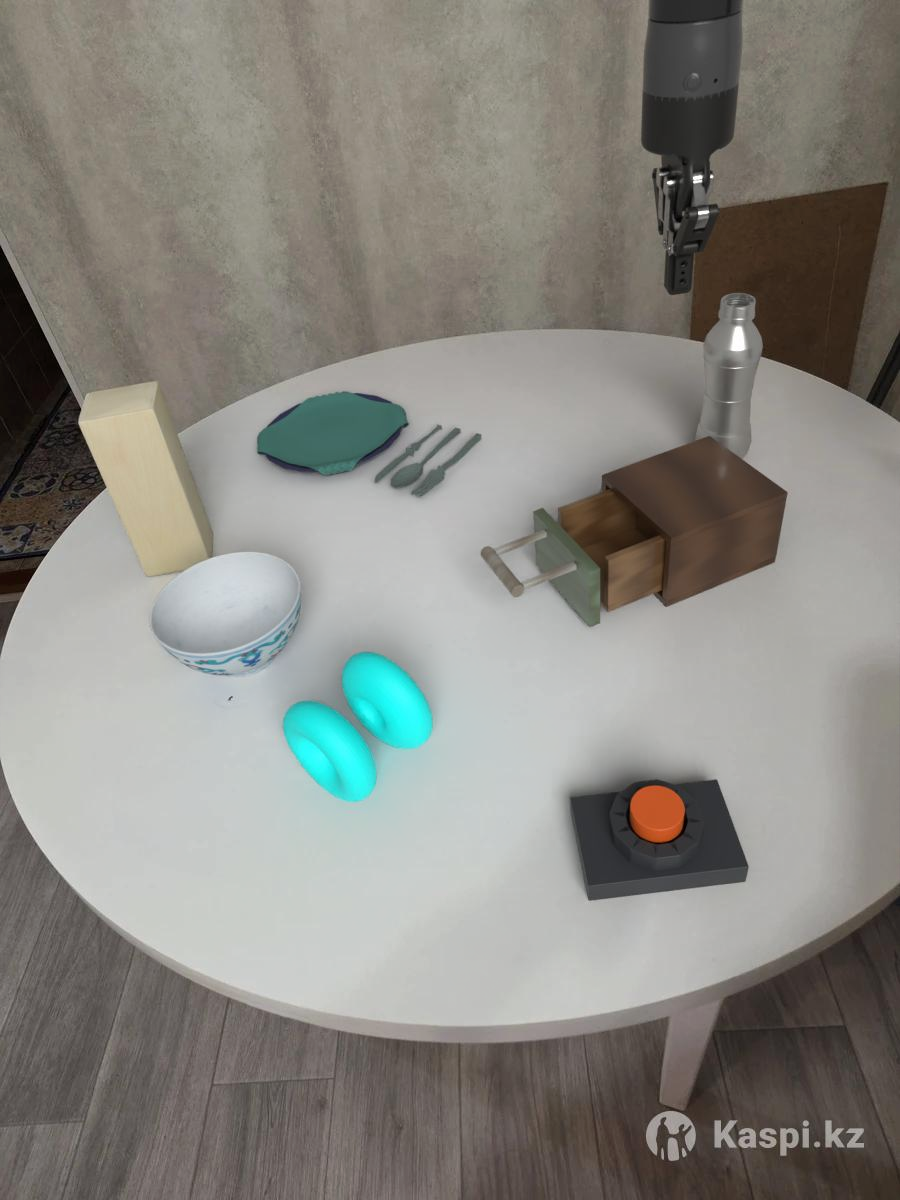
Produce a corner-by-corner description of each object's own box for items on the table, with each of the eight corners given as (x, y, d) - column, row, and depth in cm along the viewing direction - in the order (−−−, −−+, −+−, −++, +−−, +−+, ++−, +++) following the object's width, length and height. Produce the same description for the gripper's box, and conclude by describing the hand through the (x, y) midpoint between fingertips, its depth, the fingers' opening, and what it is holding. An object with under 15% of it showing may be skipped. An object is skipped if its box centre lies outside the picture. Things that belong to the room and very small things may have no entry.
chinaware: (346, 645, 90) (330, 589, 85) (227, 733, 83) (202, 678, 77) (262, 586, 98) (243, 533, 93) (148, 662, 91) (121, 608, 86)
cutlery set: (327, 393, 131) (324, 379, 129) (494, 438, 116) (492, 423, 114) (234, 460, 119) (229, 446, 118) (405, 518, 105) (402, 503, 103)
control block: (714, 794, 72) (719, 765, 69) (745, 882, 66) (752, 853, 63) (570, 812, 72) (569, 784, 69) (588, 901, 66) (588, 874, 63)
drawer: (526, 653, 85) (521, 599, 80) (476, 587, 93) (469, 534, 88) (695, 584, 89) (701, 528, 84) (634, 526, 97) (636, 472, 92)
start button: (675, 795, 68) (676, 782, 67) (689, 839, 65) (691, 826, 64) (624, 801, 68) (625, 788, 67) (636, 846, 65) (636, 833, 64)
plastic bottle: (716, 477, 104) (733, 319, 90) (682, 452, 109) (694, 297, 95) (760, 461, 105) (784, 302, 92) (725, 436, 110) (742, 282, 97)
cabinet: (666, 607, 88) (671, 537, 82) (601, 541, 97) (601, 474, 91) (775, 562, 92) (788, 492, 85) (702, 502, 100) (709, 435, 94)
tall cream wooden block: (215, 529, 108) (158, 376, 94) (213, 565, 102) (152, 408, 88) (152, 541, 107) (85, 389, 93) (146, 578, 102) (74, 423, 88)
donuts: (291, 769, 78) (263, 697, 72) (369, 702, 84) (350, 628, 77) (367, 828, 73) (344, 755, 66) (446, 751, 78) (431, 677, 71)
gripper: (765, 92, 64) (739, 315, 76) (712, 57, 74) (697, 259, 86) (664, 107, 65) (654, 326, 76) (625, 70, 74) (622, 269, 86)
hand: (677, 290), depth 81 cm, fingers closed
